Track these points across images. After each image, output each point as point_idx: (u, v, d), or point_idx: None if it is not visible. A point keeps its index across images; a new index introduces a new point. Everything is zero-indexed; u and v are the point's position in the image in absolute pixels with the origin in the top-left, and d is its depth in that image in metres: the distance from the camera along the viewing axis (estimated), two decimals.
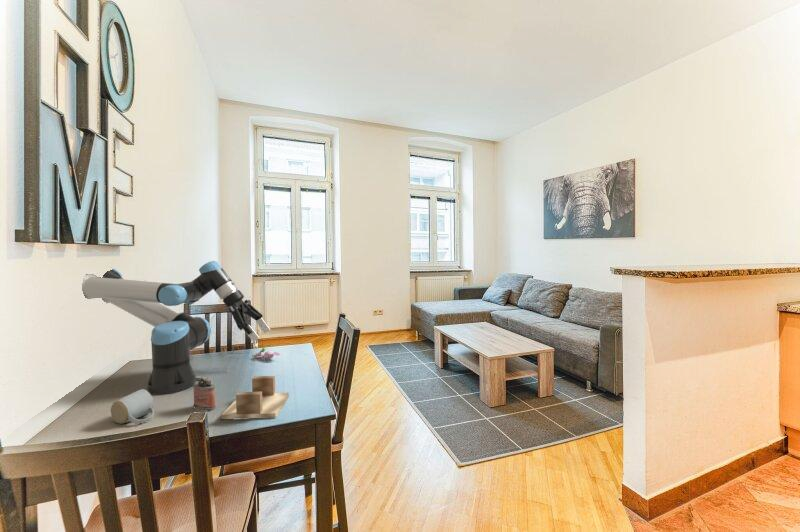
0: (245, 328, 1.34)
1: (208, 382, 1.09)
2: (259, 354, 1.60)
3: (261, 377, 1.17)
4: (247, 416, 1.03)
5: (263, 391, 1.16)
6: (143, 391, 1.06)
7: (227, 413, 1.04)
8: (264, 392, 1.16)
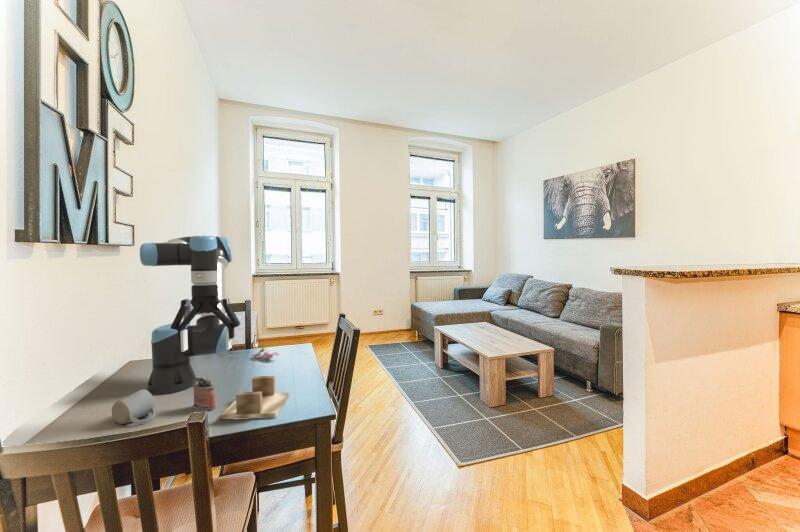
0: None
1: (208, 382, 1.09)
2: (258, 354, 1.60)
3: (261, 377, 1.17)
4: (247, 416, 1.03)
5: (263, 391, 1.16)
6: (144, 391, 1.06)
7: (227, 413, 1.04)
8: (264, 392, 1.16)
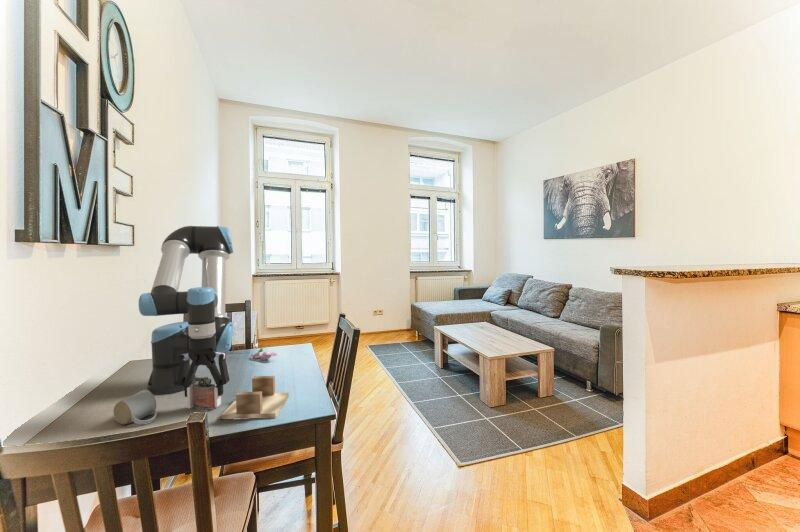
0: None
1: (208, 382, 1.09)
2: (257, 354, 1.60)
3: (261, 377, 1.17)
4: (247, 416, 1.03)
5: (263, 391, 1.16)
6: (146, 392, 1.06)
7: (227, 413, 1.04)
8: (264, 392, 1.16)
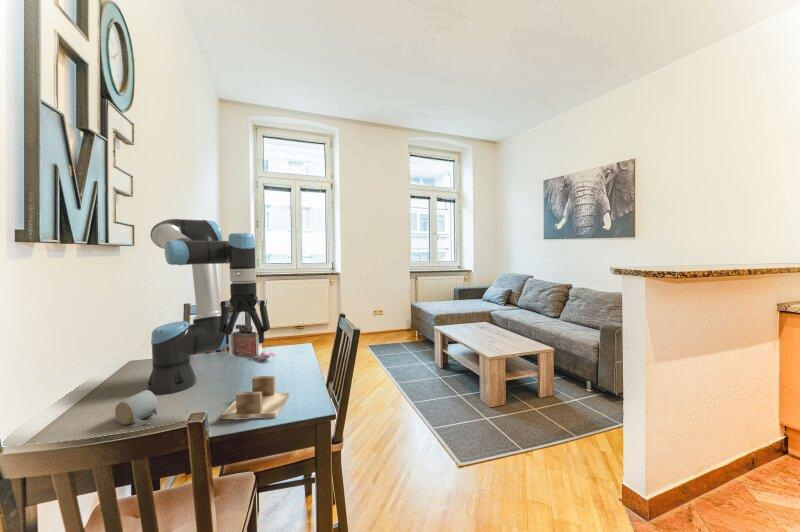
0: None
1: (249, 329, 1.08)
2: None
3: (261, 377, 1.17)
4: (247, 416, 1.03)
5: (263, 391, 1.16)
6: (147, 392, 1.05)
7: (227, 413, 1.04)
8: (264, 392, 1.16)
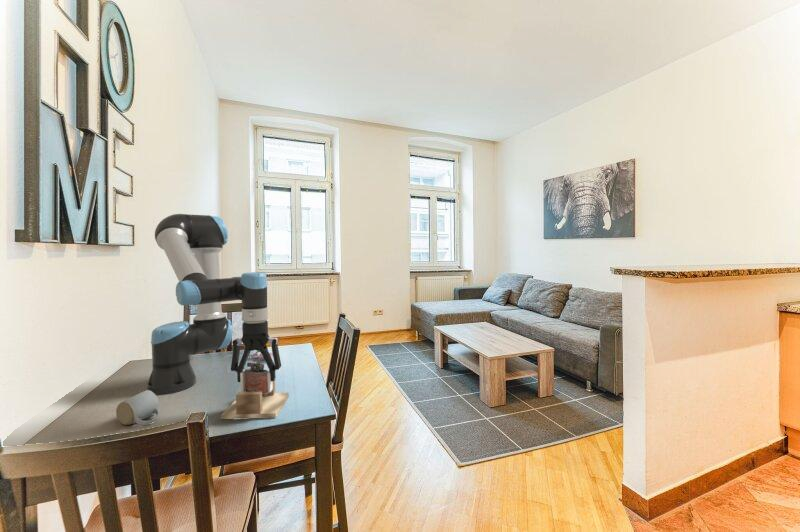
0: None
1: (261, 367, 1.09)
2: (255, 354, 1.60)
3: None
4: (247, 416, 1.03)
5: None
6: (148, 392, 1.05)
7: (227, 413, 1.04)
8: None
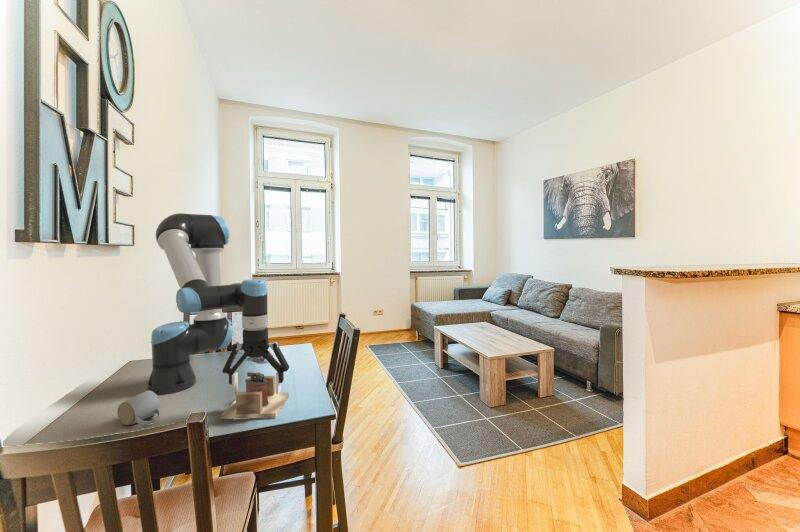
0: None
1: (261, 377, 1.09)
2: None
3: None
4: (247, 416, 1.03)
5: None
6: (149, 392, 1.05)
7: (227, 413, 1.04)
8: None
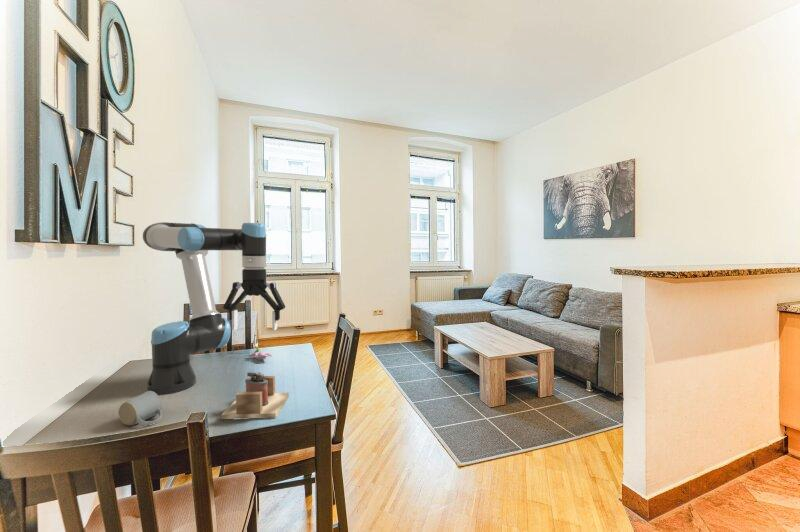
0: None
1: (261, 377, 1.09)
2: (254, 354, 1.60)
3: None
4: (247, 416, 1.03)
5: None
6: (151, 392, 1.05)
7: (227, 413, 1.04)
8: None
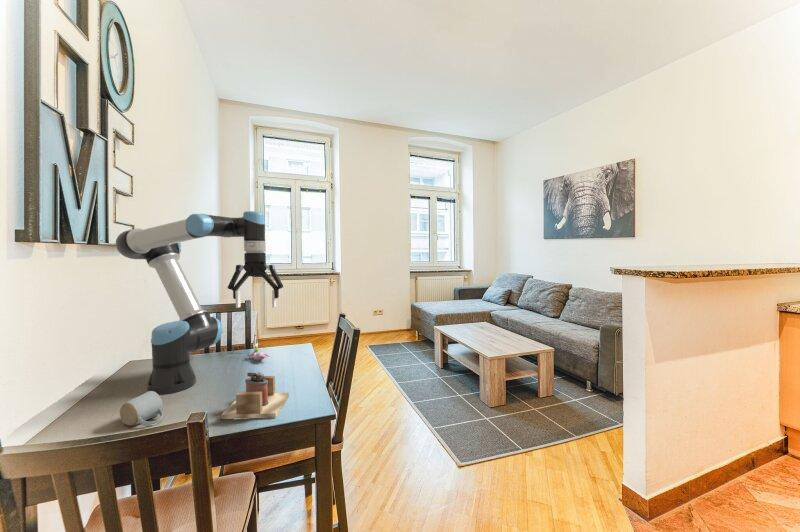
0: None
1: (261, 377, 1.09)
2: (252, 354, 1.60)
3: None
4: (247, 416, 1.03)
5: None
6: (152, 393, 1.05)
7: (227, 413, 1.04)
8: None
